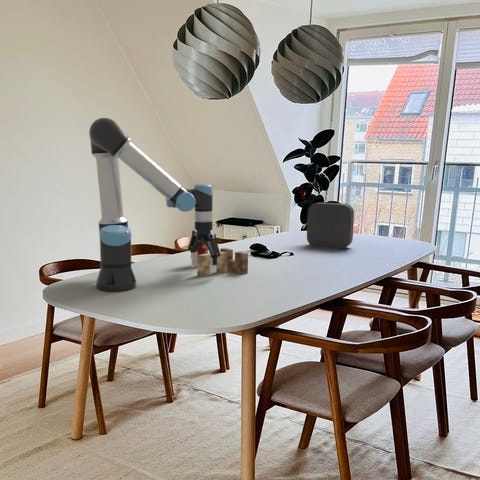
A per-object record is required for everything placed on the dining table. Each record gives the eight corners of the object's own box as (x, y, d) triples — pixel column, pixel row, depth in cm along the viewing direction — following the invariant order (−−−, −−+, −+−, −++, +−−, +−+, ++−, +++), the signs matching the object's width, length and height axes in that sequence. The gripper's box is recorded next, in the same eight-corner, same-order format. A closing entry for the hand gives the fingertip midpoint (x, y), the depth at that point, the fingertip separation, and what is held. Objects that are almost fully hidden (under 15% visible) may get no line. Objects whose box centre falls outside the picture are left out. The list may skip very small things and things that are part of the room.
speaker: (352, 247, 306) (354, 204, 302) (349, 250, 298) (351, 205, 294) (309, 244, 315) (311, 201, 311) (305, 246, 308) (307, 202, 303)
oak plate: (201, 276, 229) (201, 256, 228) (197, 275, 231) (197, 254, 230) (227, 272, 238) (227, 252, 237) (222, 271, 240) (223, 251, 239)
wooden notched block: (247, 273, 237) (248, 253, 236) (242, 274, 236) (242, 253, 234) (225, 266, 249) (225, 247, 248) (220, 267, 248) (220, 248, 246)
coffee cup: (206, 267, 247) (207, 235, 244) (189, 266, 248) (189, 234, 246) (211, 264, 255) (211, 232, 252) (194, 263, 256) (194, 232, 254)
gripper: (229, 223, 221) (228, 273, 224) (193, 217, 239) (194, 263, 243) (214, 224, 216) (214, 276, 219) (179, 218, 235) (180, 265, 238)
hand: (203, 269), depth 231 cm, fingers open, 13 cm apart
